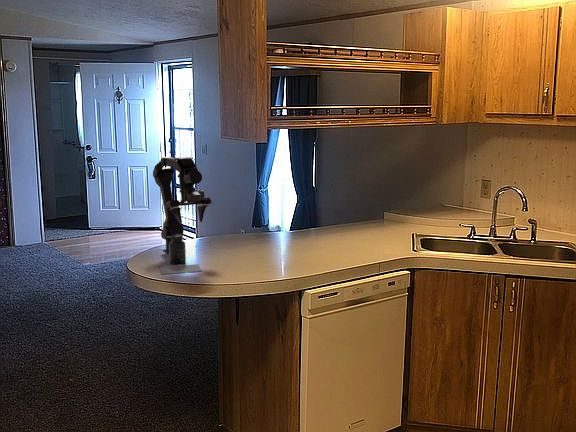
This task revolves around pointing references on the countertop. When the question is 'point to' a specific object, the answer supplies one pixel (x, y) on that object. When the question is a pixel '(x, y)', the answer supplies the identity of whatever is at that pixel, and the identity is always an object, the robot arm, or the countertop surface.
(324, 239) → the countertop surface
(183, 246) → the supplement bottle
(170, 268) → the metal sheet
